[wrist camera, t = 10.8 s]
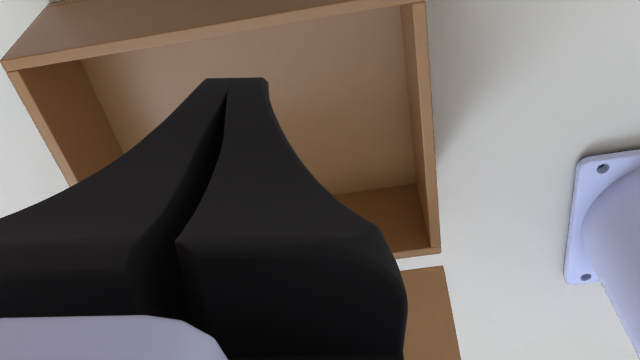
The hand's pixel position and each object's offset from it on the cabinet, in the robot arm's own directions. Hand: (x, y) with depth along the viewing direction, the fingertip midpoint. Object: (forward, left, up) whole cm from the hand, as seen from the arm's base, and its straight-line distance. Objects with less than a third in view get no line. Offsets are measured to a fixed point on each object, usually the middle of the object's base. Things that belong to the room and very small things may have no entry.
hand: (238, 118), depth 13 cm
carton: (+2, +5, -10) cm, 11 cm away
